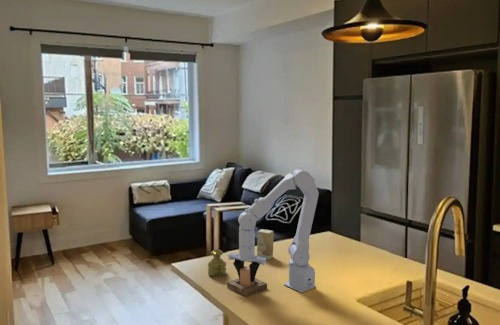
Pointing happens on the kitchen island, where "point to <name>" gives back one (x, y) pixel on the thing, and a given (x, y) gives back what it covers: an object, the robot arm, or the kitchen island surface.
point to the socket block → (249, 290)
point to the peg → (245, 277)
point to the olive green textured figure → (217, 264)
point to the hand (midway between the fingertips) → (247, 280)
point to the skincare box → (265, 243)
